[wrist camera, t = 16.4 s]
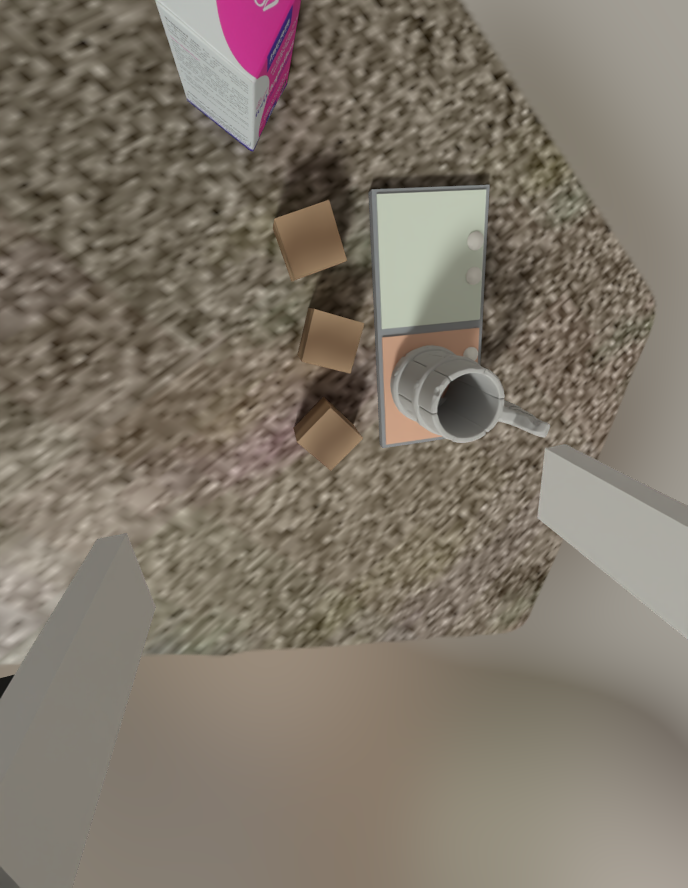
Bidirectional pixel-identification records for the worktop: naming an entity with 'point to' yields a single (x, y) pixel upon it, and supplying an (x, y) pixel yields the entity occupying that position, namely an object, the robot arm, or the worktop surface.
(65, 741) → the robot arm
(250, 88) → the supplement box
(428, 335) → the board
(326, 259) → the walnut block
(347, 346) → the walnut block
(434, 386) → the mug
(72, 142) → the worktop surface
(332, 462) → the walnut block
